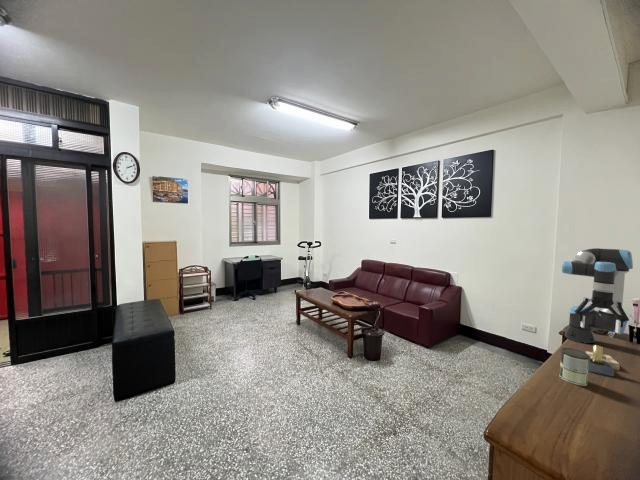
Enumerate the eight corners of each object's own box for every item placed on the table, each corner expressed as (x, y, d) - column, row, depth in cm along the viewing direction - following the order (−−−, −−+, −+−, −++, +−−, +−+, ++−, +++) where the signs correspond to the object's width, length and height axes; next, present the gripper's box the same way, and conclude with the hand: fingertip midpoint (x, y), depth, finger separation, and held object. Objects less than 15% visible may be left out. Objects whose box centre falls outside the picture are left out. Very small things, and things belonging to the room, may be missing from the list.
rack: (585, 356, 157) (585, 350, 157) (608, 361, 152) (609, 355, 152) (593, 365, 146) (594, 359, 146) (619, 370, 142) (619, 364, 141)
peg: (590, 367, 144) (592, 344, 144) (599, 369, 142) (601, 345, 142) (592, 370, 141) (594, 346, 140) (602, 372, 139) (604, 348, 139)
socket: (580, 363, 148) (580, 356, 148) (604, 368, 144) (605, 361, 143) (587, 371, 140) (587, 363, 140) (613, 376, 135) (614, 369, 135)
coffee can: (553, 373, 136) (555, 346, 136) (575, 375, 135) (577, 348, 135) (570, 384, 126) (572, 356, 125) (593, 387, 125) (596, 358, 124)
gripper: (574, 288, 143) (570, 326, 143) (641, 296, 130) (637, 337, 131) (569, 286, 149) (566, 322, 150) (632, 293, 137) (629, 333, 138)
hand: (599, 330), depth 141 cm, fingers open, 13 cm apart
